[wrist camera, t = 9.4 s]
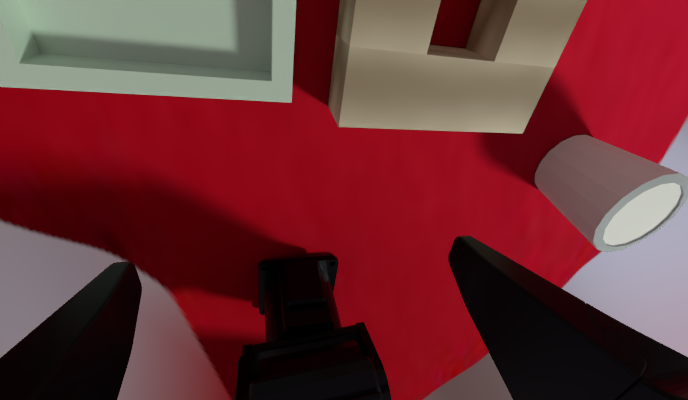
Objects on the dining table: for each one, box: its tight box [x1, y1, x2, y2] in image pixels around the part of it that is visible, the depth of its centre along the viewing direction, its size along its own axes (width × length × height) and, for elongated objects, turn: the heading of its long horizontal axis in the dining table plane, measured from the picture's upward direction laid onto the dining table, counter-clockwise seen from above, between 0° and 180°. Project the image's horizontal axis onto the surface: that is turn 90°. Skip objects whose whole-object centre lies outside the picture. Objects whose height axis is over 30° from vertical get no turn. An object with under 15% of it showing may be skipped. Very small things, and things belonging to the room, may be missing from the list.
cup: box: [535, 135, 688, 252], centre depth 25 cm, size 7×7×7 cm
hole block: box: [328, 0, 587, 134], centre depth 17 cm, size 12×12×3 cm
